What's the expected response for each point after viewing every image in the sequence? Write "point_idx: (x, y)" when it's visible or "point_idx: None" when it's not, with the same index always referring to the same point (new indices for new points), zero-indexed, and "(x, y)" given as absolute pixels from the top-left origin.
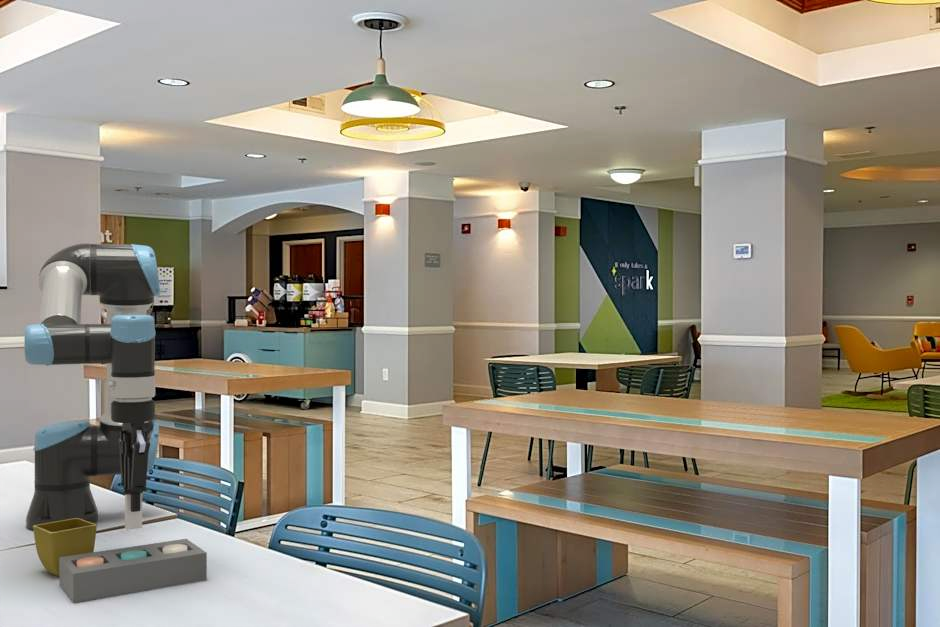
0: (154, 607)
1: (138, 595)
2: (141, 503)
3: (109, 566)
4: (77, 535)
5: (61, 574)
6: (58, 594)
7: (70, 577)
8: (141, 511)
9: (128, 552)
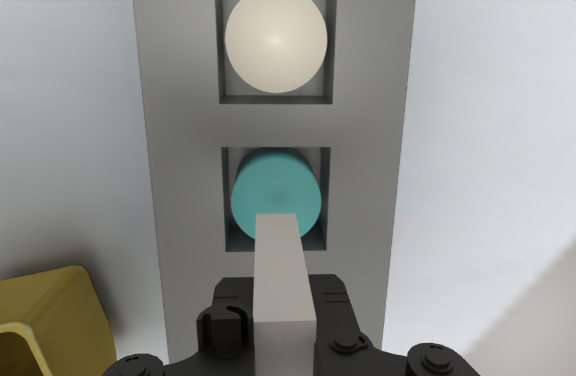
0: (526, 181)
1: (402, 190)
2: (306, 279)
3: (369, 293)
4: (70, 368)
5: None
6: None
7: None
8: (302, 254)
9: (250, 215)
